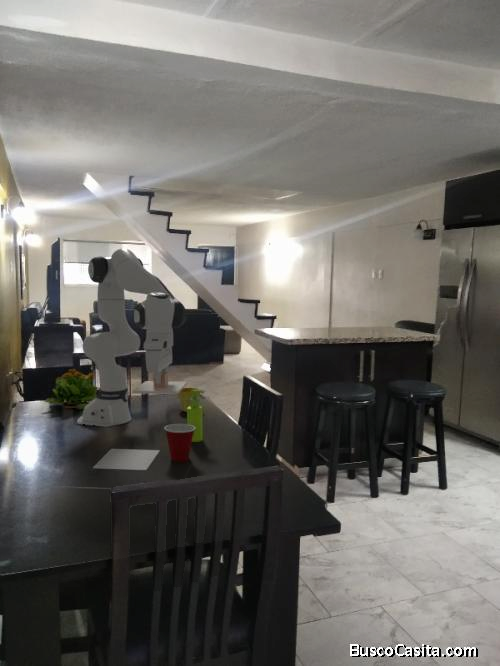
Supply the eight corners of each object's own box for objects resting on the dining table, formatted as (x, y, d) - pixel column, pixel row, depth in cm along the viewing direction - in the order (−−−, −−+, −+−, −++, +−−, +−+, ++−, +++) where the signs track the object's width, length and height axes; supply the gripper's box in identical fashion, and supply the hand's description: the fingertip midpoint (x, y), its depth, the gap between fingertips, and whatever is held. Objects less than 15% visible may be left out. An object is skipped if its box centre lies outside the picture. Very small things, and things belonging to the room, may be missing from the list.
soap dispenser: (202, 443, 190) (202, 392, 188) (185, 442, 192) (184, 391, 189) (207, 438, 196) (206, 388, 193) (190, 437, 197) (189, 387, 195)
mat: (92, 469, 165) (92, 468, 165) (111, 450, 183) (111, 448, 183) (146, 471, 164) (146, 470, 164) (159, 451, 182) (159, 450, 182)
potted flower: (48, 416, 224) (46, 378, 221) (39, 404, 244) (37, 368, 241) (104, 408, 237) (103, 372, 235) (91, 397, 257) (90, 363, 254)
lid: (132, 393, 163) (131, 377, 163) (145, 383, 178) (145, 368, 178) (177, 394, 162) (177, 377, 162) (187, 384, 177) (187, 369, 176)
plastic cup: (201, 457, 177) (201, 424, 175) (185, 468, 167) (184, 433, 165) (175, 452, 181) (175, 420, 180) (158, 462, 172) (157, 428, 170)
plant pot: (194, 406, 242) (194, 386, 241) (203, 411, 233) (203, 390, 232) (174, 409, 237) (173, 388, 236) (182, 414, 228) (182, 393, 227)
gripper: (158, 337, 179) (159, 375, 181) (141, 345, 159) (143, 388, 160) (176, 337, 178) (177, 375, 180) (161, 345, 158) (162, 388, 160)
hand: (160, 381), depth 170 cm, fingers closed on lid, 4 cm apart
